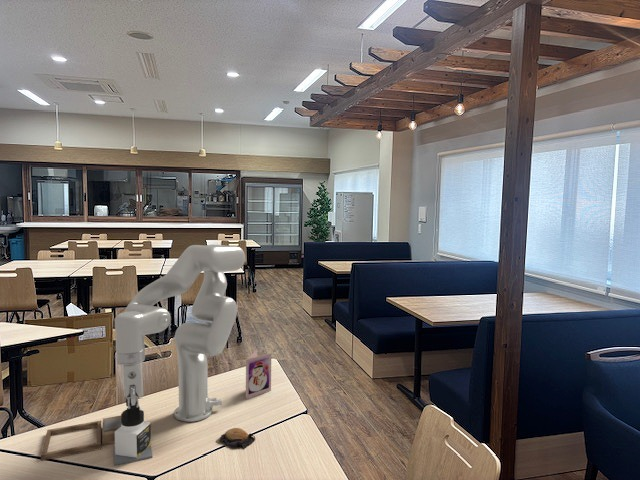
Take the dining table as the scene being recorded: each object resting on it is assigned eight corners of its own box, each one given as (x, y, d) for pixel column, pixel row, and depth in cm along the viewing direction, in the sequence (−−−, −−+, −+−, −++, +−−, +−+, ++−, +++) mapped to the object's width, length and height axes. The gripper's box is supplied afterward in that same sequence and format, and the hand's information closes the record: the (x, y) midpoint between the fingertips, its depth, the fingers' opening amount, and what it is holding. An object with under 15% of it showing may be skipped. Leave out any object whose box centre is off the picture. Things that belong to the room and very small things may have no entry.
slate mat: (149, 439, 138) (149, 438, 138) (152, 457, 129) (152, 455, 128) (113, 447, 133) (113, 445, 133) (114, 465, 124) (113, 463, 124)
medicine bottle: (137, 458, 127) (136, 417, 126) (114, 455, 128) (113, 415, 127) (151, 444, 134) (150, 406, 133) (129, 442, 135) (128, 403, 134)
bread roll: (213, 444, 137) (213, 433, 137) (230, 431, 144) (230, 420, 144) (242, 453, 132) (242, 441, 132) (258, 439, 140) (258, 428, 140)
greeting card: (247, 400, 165) (247, 360, 164) (236, 393, 171) (236, 354, 169) (272, 391, 173) (272, 353, 172) (261, 385, 179) (261, 348, 177)
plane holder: (136, 418, 150) (136, 401, 150) (139, 441, 137) (138, 422, 136) (47, 434, 140) (46, 415, 139) (40, 460, 126) (40, 440, 125)
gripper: (147, 364, 122) (149, 424, 124) (142, 344, 138) (144, 397, 139) (116, 368, 119) (119, 430, 121) (115, 347, 134) (118, 402, 136)
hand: (132, 412), depth 130 cm, fingers open, 9 cm apart
